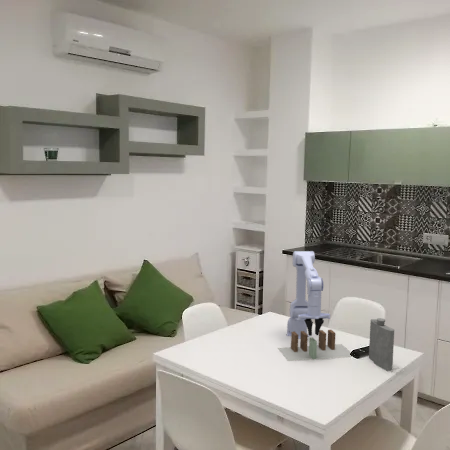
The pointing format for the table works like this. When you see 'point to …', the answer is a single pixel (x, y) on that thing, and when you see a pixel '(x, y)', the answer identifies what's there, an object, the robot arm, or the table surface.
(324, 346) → the domino
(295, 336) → the domino
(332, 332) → the domino
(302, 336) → the domino
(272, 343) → the table surface
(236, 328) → the table surface
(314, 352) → the sage domino
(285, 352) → the grey mat
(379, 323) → the hip flask
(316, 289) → the robot arm
